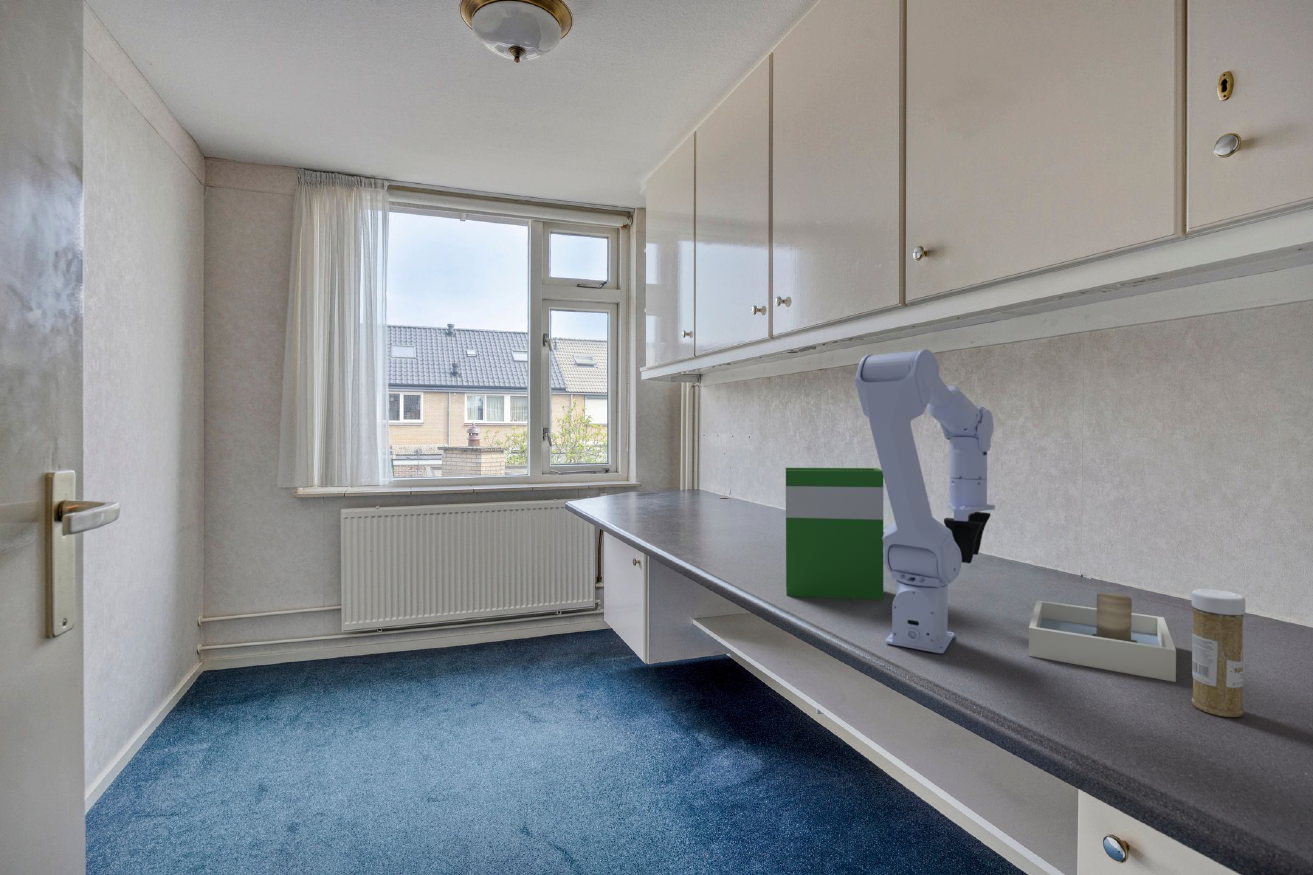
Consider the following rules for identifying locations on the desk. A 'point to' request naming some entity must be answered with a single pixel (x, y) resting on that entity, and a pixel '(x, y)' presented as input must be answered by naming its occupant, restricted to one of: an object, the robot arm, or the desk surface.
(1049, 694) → the desk surface
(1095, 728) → the desk surface
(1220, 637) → the sprinkles bottle
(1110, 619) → the wooden cylinder
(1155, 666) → the box
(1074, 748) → the desk surface
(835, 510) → the hardback book
